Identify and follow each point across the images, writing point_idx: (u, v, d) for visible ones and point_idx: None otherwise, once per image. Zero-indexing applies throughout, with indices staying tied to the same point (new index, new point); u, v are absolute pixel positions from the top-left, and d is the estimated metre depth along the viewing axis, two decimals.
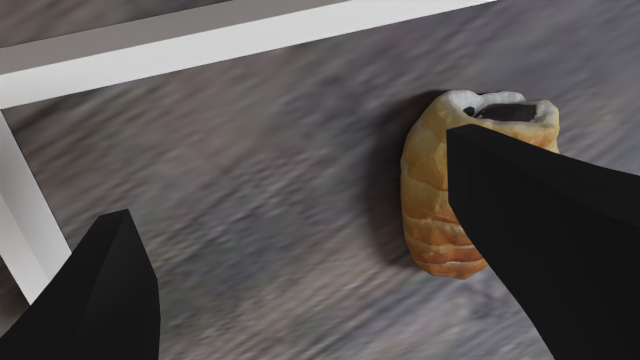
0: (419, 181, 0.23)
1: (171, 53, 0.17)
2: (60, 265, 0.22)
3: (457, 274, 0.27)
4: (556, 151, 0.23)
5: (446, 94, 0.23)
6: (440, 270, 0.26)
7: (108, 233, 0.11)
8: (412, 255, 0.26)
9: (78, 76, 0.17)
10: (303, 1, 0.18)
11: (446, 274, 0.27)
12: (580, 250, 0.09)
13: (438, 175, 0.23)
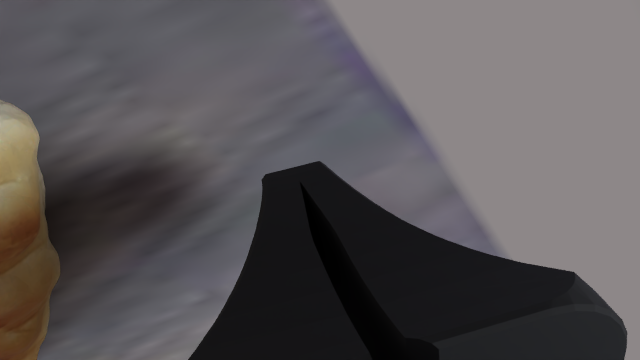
0: None
1: None
2: None
3: None
4: None
5: None
6: None
7: (290, 187, 0.11)
8: None
9: None
10: None
11: None
12: (362, 312, 0.08)
13: None
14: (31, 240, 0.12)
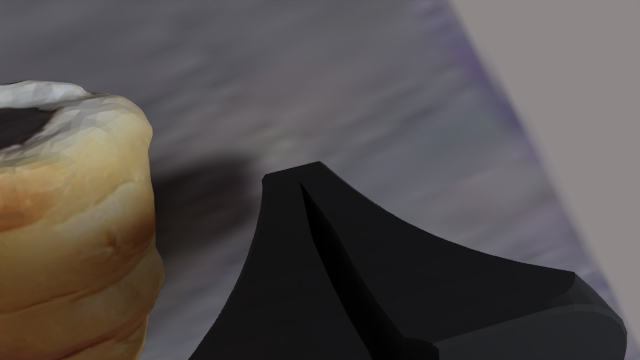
0: None
1: None
2: None
3: None
4: (113, 212, 0.10)
5: None
6: None
7: (290, 187, 0.11)
8: None
9: None
10: None
11: None
12: (362, 312, 0.08)
13: None
14: (148, 245, 0.11)
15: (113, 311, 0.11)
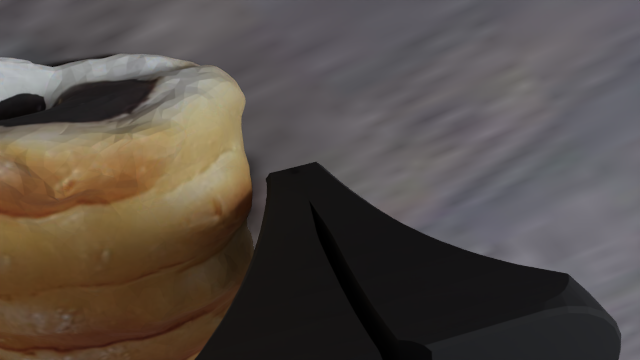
0: None
1: None
2: None
3: None
4: (217, 180, 0.10)
5: None
6: None
7: (294, 186, 0.11)
8: None
9: None
10: None
11: None
12: (358, 313, 0.08)
13: None
14: (247, 215, 0.11)
15: (216, 282, 0.11)
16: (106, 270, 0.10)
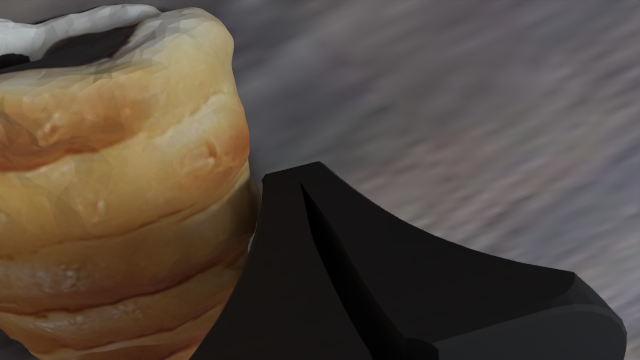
0: None
1: None
2: None
3: None
4: (209, 122, 0.10)
5: None
6: None
7: (290, 187, 0.11)
8: None
9: None
10: None
11: None
12: (362, 312, 0.08)
13: None
14: (246, 159, 0.11)
15: (220, 230, 0.11)
16: (103, 221, 0.09)
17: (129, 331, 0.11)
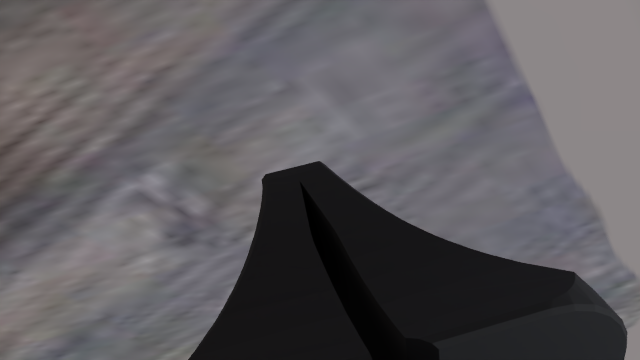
0: None
1: None
2: None
3: None
4: None
5: None
6: None
7: (290, 187, 0.11)
8: None
9: None
10: None
11: None
12: (362, 312, 0.08)
13: None
14: None
15: None
16: None
17: None
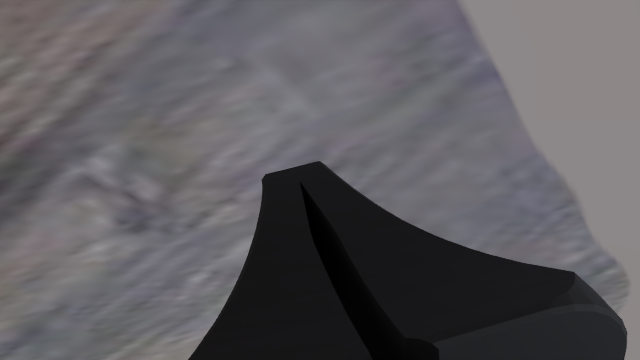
0: None
1: None
2: None
3: None
4: None
5: None
6: None
7: (290, 187, 0.11)
8: None
9: None
10: None
11: None
12: (363, 312, 0.08)
13: None
14: None
15: None
16: None
17: None
